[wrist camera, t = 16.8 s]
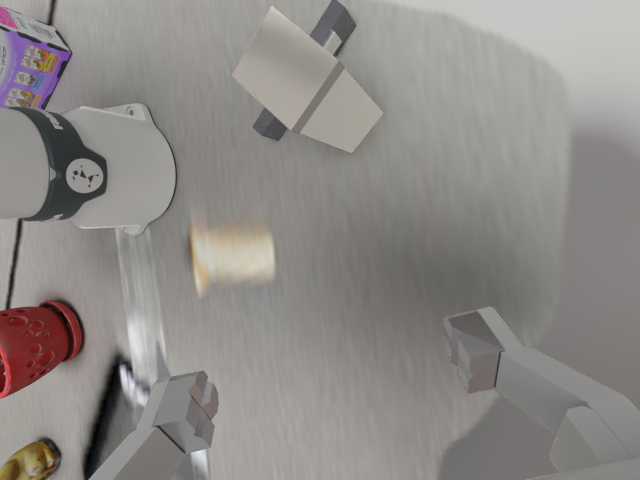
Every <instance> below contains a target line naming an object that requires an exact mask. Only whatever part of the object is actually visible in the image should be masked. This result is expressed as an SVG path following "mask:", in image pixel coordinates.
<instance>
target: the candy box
mask: <svg viewBox="0 0 640 480" xmlns="http://www.w3.org/2000/svg"><path fill="white" fill-rule="evenodd" d="M70 54H71V52H70V50H69V48H68V47H67V45H66V44H65V42H64V41H63V39H62V38H61V36H60V34H59V33H58V31H57V30H56V29H55V28H54V27H52V26H50V25H47V24H45V23H42V22H40V21H37V20H35V19H33V18H30V17H28V16H25V15H23V14H20V13H18V12H15V11H13V10H11V9H8V8H6V7H3V6H1V5H0V107H2V108H9V107H13V106H19V107H30V108H37V109H41V110H44V109H45V106H46V104H47V102H48V100H49V98H50V96H51V94H52V92H53V90H54V88H55V86H56V84H57V81H58V79H59V77H60V75H61V73H62V71H63V69H64V67H65V65H66V63H67V61H68V59H69V56H70Z"/></svg>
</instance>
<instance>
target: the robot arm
mask: <svg viewBox="0 0 640 480" xmlns="http://www.w3.org/2000/svg"><path fill="white" fill-rule="evenodd" d="M174 188H175V164H174V159H173V155H172V152H171V149H170V147H169V145H168V143H167V141H166V139H165V138H164V136H163V135H162V134H161V132H160V131H159V130H158V129H157V128H156V126H155V125H154V123H153V121H152V118H151V115H150V113H149V110H148V108H147V107H146V106H145V105H144V104H139V103H133V104H127V105H121V106H114V107H108V108H102V109H97V108H92V107H87V106H80V107H79V109H71V110H68V111H65V112H62V113H59V114H57V113H53V112H47V111H44V110H41V109H37V108H30V107H19V106H13V107H9V108H2V107H0V219H11V218H20V219H22V220H24V221H40V222H46V221H54V220H63V219H68V220H70V221H71V222H72V223H73V224H75V225H78V226H79V228H82V229H96V228H116V227H118V228H119V229H121V230H123V231H124V232H126V233H127V234H129V235H131V236H138V235H140V234H141V233H142V232H143V231H144V229H145V228H146V226H147V225H148V224H149V223H150V222H151V221H153V220H155V219H157V218H158V217H159V216H161V215H162V214H163V213H164V211H165V210H166V209H167V207H168V206H169V204H170V202H171V199H172V196H173V193H174ZM443 326H444V328H445V329H446V330H445V331H444V333H443V342H444V346H445V350H446V352H447V355H448V357H449V359H450V361H451V362H452V363H454V364H455V365H457V366H458V370H457V374H458V376H459V378H460V380H461V382H462V384H463V386H464V388H465V390H466V392H467V393H473V392H478V391H484V390H489V389H495V390H496V391H497V392H498V393H500V394H501V395H502V396H504V397H505V398H506V399H508V400H509V401H510V402H511V403H513V404H514V405H515V406H517V407H518V408H519V409H521V410H522V411H523V412H525V413H526V414H527V415H528V416H530V417H531V418H532V419H534V420H535V421H536V422H537V423H539V424H540V425H541V426H543V427H544V428H545V429H547V430H548V431H549V432H550V433H552V434H553V435H555V436H556V438H555V441H554V443H553V446H552V448H551V451H550V454H549V458H550V460H551V462H552V464H553V465H554V467H555V468H556V470H557V472H558V473H555V474H550V475H545V476H540V477H535V478H530V479H525V480H640V411H639V410H638V409H637V408H636V407H635V406H634V405H633V404H632V403H631V402H630V401H629V400H628V399H627V398H626V397H625V396H624V395H622V394H620V393H618V392H616V391H615V390H613V389H611V388H609V387H607V386H605V385H603V384H601V383H599V382H597V381H595V380H593V379H591V378H589V377H587V376H586V375H584V374H582V373H580V372H578V371H576V370H574V369H572V368H570V367H568V366H566V365H564V364H562V363H561V362H559V361H557V360H555V359H553V358H551V357H549V356H547V355H545V354H543V353H541V352H539V351H537V350H536V349H534V348H532V347H530V346H528V347H524V346H523V345H522V344H521V342H520V341H519V340H518V338H517V337H516V336H515V335H514V333H513V332H512V331H511V330H510V328H509V327H508V326H507V324H506V323H505V322H504V321H503V319H502V318H501V317H500V316H499V314H498V313H497V312H496V310H495V309H494V308H492V307H491V306H489V307H485V308H480V309H476V310H470V311H466V312H461V313H457V314H453V315H449V316H444V318H443ZM207 378H208V376H207V374H206V373H205V372H204V371H199V372H194V373H188V374H183V375H178V376H173V377H168V378H163V379H159V380H157V381H156V382H155V384H154V385H153V388H152V390H151V393H150V395H149V398H148V401H147V403H146V406H145V408H144V411H143V414H142V416H141V419H140V421H139V424H138V427H137V429H136V431H133V432H131V433H130V434H129V435H128V436H127V437H126V439H125V440H124V441H123V442H122V443H121V444H120V445H119V446H118V447H117V449H116V450H115V451H114V452H113V453H112V454H111V455H110V456H109V458H108V459H107V460H106V461H105V462H104V463H103V464H102V465H101V466H100V468H99V469H98V470H97V471H96V472H95V473H94V474H93V475H92V477H91V478H90V479H89V480H171V478H172V477H173V475H174V473H175V472H176V470H177V469H178V467H179V465H180V464H181V462H182V460H183V459H184V457H185V454H186V453H191V452H195V451H199V450H203V449H207V448H211V443H212V438H213V432H214V427H215V426H214V424H213V422H212V419H213V417H214V416H215V414H216V413H217V410H218V404H219V401H218V392H217V389H216V387H215V386H214V384H213V383H210V382H208V381H207Z"/></svg>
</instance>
